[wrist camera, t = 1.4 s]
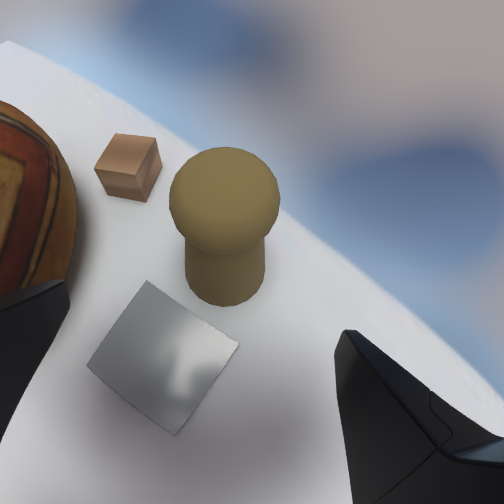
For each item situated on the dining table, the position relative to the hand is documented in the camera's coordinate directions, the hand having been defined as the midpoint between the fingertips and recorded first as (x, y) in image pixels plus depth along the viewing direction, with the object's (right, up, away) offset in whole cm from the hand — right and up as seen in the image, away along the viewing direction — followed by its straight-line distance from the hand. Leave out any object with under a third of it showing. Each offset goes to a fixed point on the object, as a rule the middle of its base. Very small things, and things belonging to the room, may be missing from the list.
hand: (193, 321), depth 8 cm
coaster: (-5, -5, +11) cm, 13 cm away
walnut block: (-9, +8, +16) cm, 20 cm away
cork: (0, +1, +14) cm, 14 cm away
